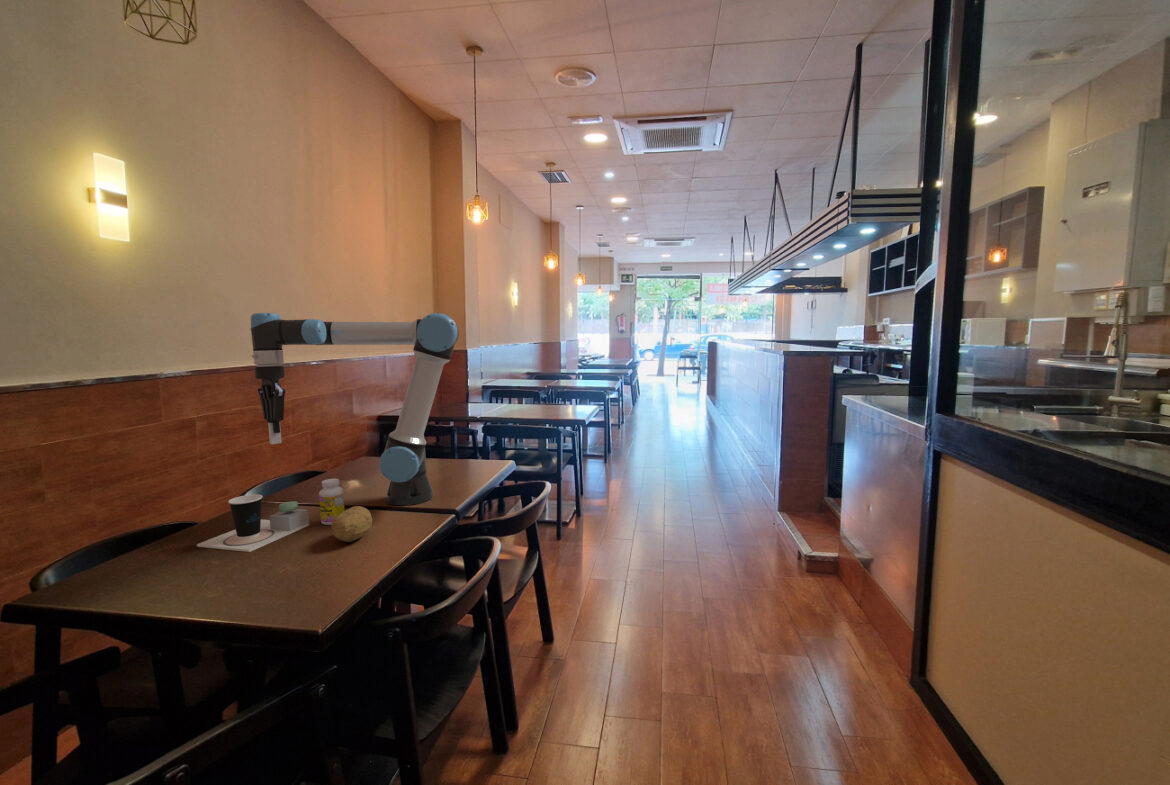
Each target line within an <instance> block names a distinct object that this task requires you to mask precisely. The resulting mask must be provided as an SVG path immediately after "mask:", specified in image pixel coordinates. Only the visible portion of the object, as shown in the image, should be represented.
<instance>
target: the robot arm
mask: <svg viewBox="0 0 1170 785" xmlns="http://www.w3.org/2000/svg"><path fill="white" fill-rule="evenodd" d="M249 329H250V332H251V334H250V335H251V342H252V351H253V352H252V355H251V357H252V358H253V364H254V365H255V367H254V369H253V370H254V378H255V379H256V380H261V384H260V385H261V386H260V387H259V388H257V392H258V394H259V398H260V403H261V410H262V414H263V415H262V416H263V420H266V422H267V425H268V435H269V438H268V439H269V444H270V445H276V444H282V443H283V442H282V432H281V430H282V429H281V422H282V421H283V420H284V418H285V417H284V415H285V412H284V411H285V395H286V389H285V388H282V386H281V382H280V379H284V378H285V374H286V373H285V367H284V366H283V364H284V363H285V360H284V351H283V346H304V345H305V346H333V345H334V346H336V345H337V346H338V345H339V346H341V345H344V346H345V345H350V346H352V345H353V346H354V345H355V346H357V345H358V346H361V345H366V346H367V345H368V346H369V345H370V346H371V345H373V346H375V345H377V346H379V345H380V346H381V345H383V346H384V345H386V346H387V345H388V346H389V345H390V346H391V345H396V346H398V345H399V346H401V345H409V346H411V345H414V346H413V349H412V351H413V353H414V355H415V361H414V363H413V368H412V371H411V375H410V379H409V381H408V385H407V389H406V393H405V396H404V399H403V401H402V402H403V403H402V406H401V410H400V414H399V417H398V420H397V424H396V427H395V429H394V430H393V431H391V432H390V433H389V434H388V437H387V440H386V444H385V447H384V451H383V452H382V454H381V455H380V457H379V461H378V462H379V464H378V465H379V470H380V472H381V474H382V475H383V477H385V478H386V479H387V480H389V486H388V489H387V493H386V503H387V504H389V505H392V506H409V505H416V504H421V503H424V502H427V501H429V500H431V499H433V497H434V491H433V487H432V485H431V482H430V480H429V477H428V474H427V457H426V446H427V440H426V438H425V435H424V434H425V431H426V427H427V425H428V421H429V417H430V414H431V411H432V406H433V404H434V400H435V398H436V397H435V396H436V394H437V390H438V386H439V384H440V383H439V382H440V380H441V376H442V372H443V369H444V366H445V365H446V364H447V363H449V362H450V361H451V359H452V355H453V353H454V349H455V345H456V344H457V341H458V339H459V336H460V335H459V333H460V332H459V328H458V325H457V324H456V322H455V320H453V318H451V317H450V316H449V315H447V314H444V313H439V312H433V313H430V314H428V315H426V316H424V317H423V318H416V319H415V320H414V321H323V320H321V319H314V318H308V319H282V318H281V317H280V314H279V313H276V312H275V313H274V312H257V313H256V312H255V313H252V314H251V316H250V328H249Z"/></svg>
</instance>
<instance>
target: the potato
mask: <svg viewBox="0 0 1170 785" xmlns="http://www.w3.org/2000/svg"><path fill="white" fill-rule="evenodd" d="M372 524H373V518H372V513H371V512H370V510H369V509H368V508H366V507H364V506H360V505H355V506H352V507H349V508H348V509H346V510H345V511H344V512H342V513H340V514H338V515H337V516H336V517H335V518H334V520H333V522H332V525H330V526H331V532H332V534H333V537H335V538H336V539H338V540H339V541H342V542H346V543H352V542H353V541H356V540H358V539H360V538H361V537H363V536H364V535H365V534H366V533H368V531H369V530H370V529H371V527H372Z"/></svg>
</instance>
